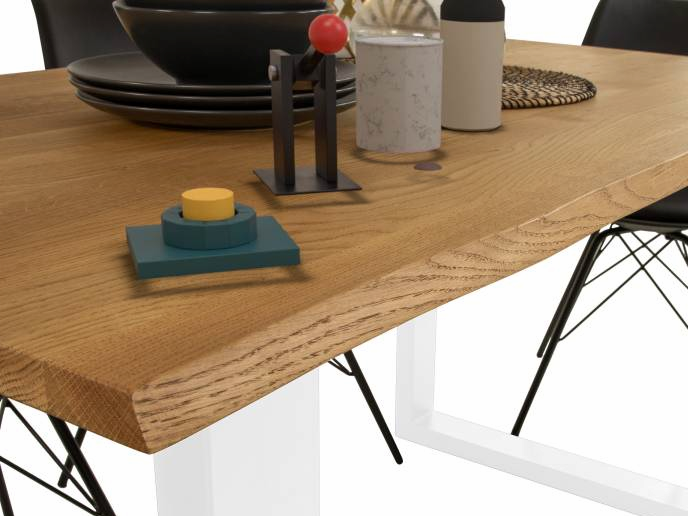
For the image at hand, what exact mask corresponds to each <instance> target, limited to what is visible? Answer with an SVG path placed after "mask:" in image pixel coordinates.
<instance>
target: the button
mask: <svg viewBox="0 0 688 516" xmlns="http://www.w3.org/2000/svg"><path fill="white" fill-rule="evenodd" d="M234 195H235V194H234V192H233V191H232V190H230V189H227V188H221V187H199V188H198V187H197V188H193V189H188V190H186V191H183V192H182V193H181V205H182V210H183V218H184V219H188V220H197V221H213V220H223V219H227V218H231V217H234V216H235V213H234V202H235V197H234Z"/></svg>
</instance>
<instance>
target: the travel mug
mask: <svg viewBox="0 0 688 516" xmlns="http://www.w3.org/2000/svg"><path fill="white" fill-rule="evenodd" d="M505 20H506V6H505V4H504V2H503V0H442V1H441V4H440V6H439V38H440V39H443V41H444V43H443V51H442V102H441V127H442V128H444V129H448V130H452V131H458V132H486V131H491V130H495V129H497V128H498V127H500V126H501V123H502V98H503V77H504V76H503V73H504V50H505V49H504V48H505V25H506V21H505Z"/></svg>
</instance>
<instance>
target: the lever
mask: <svg viewBox="0 0 688 516" xmlns="http://www.w3.org/2000/svg"><path fill="white" fill-rule="evenodd" d="M308 40H309V41H310V46H309V47H308V49H307V50H306V52H305V53H304V54H292V55H291V56H292V87H293V91H300V90H302V91H303V90H314V87H315V86H316V84H317V83H318V82H319V80H320V79H319V71H318V64H319V63H320V61H321V60H322V58H323V57H324V55H325V54H337V53H339V52H340V51H342V50H343V49H344V48H345V46H346V44H347V43H348V40H349V29H348V27H347V24H346V23H345V21H344V20H343V19H342V18H341V17H340V16H338V15H336V14H333V13H322V14H319V15H318V16H316V17H315V18H313V20H312V21H311V23H310V25H309V28H308Z"/></svg>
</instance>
